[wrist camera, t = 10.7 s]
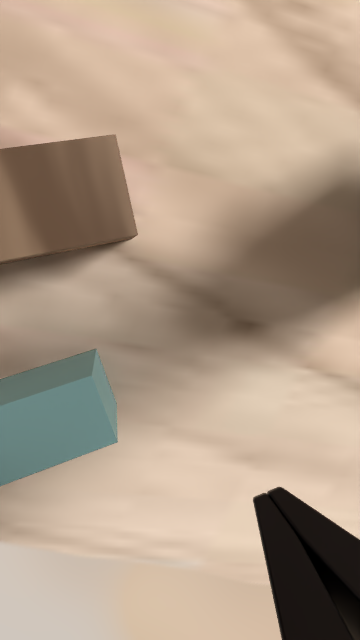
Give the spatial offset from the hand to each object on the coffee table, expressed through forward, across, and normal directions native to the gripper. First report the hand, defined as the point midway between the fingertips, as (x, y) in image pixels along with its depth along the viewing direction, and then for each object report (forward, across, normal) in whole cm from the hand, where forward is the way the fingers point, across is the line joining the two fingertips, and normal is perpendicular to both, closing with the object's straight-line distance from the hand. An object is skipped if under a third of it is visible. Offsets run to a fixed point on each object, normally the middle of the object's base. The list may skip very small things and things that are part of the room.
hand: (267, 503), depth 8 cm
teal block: (+10, +5, 0) cm, 11 cm away
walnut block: (+10, +1, -10) cm, 14 cm away
